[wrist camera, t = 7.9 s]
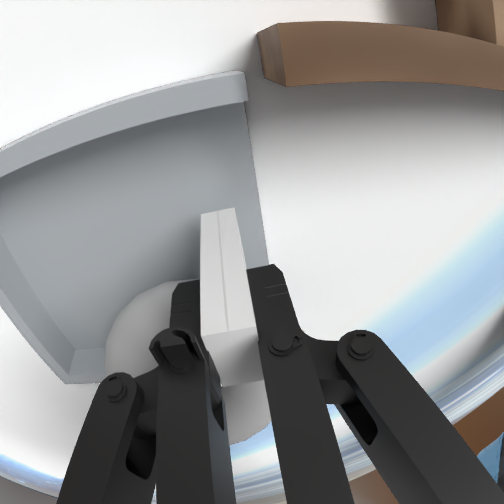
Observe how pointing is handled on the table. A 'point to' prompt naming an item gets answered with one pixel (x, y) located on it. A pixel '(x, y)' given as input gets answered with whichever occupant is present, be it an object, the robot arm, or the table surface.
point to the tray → (119, 211)
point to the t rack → (391, 49)
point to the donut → (142, 361)
